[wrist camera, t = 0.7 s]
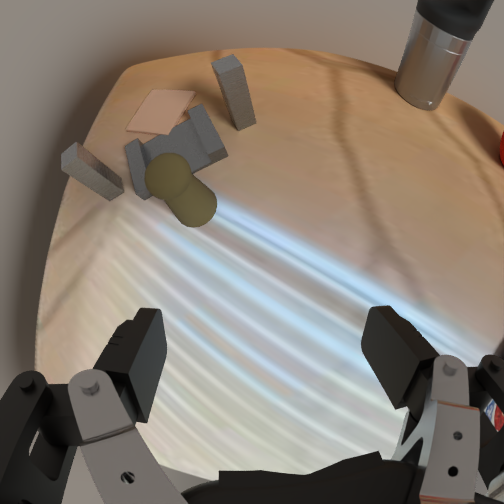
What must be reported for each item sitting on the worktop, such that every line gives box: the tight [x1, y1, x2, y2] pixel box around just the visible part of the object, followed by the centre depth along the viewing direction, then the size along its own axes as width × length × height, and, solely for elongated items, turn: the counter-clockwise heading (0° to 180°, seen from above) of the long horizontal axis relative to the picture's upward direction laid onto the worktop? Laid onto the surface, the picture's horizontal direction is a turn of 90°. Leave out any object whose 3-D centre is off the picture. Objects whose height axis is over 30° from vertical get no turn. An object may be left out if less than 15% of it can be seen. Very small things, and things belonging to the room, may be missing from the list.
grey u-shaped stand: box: [61, 54, 256, 201], centre depth 33 cm, size 10×26×12 cm, turn 114°
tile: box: [125, 89, 196, 135], centre depth 41 cm, size 10×10×1 cm
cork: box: [144, 153, 217, 228], centre depth 31 cm, size 6×6×11 cm
